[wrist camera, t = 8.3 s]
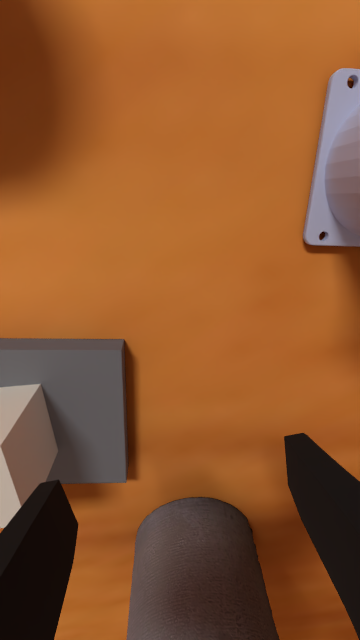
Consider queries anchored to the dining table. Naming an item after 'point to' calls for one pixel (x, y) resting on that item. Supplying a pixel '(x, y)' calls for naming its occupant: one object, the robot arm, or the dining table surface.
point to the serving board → (77, 402)
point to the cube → (23, 446)
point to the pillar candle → (198, 576)
